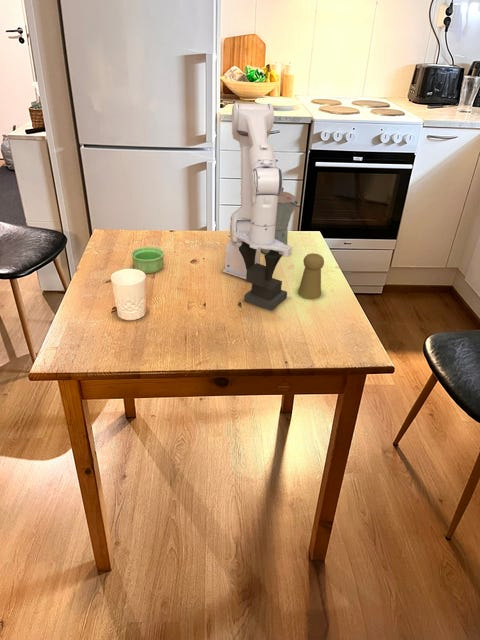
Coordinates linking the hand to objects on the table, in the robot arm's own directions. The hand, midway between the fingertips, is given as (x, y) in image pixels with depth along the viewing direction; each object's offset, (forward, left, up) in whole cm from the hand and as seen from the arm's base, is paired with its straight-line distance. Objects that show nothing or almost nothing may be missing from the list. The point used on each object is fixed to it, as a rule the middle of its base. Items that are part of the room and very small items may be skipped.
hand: (259, 275), depth 119 cm
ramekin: (-36, +1, -10) cm, 38 cm away
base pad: (0, +5, -9) cm, 11 cm away
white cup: (-23, -20, -10) cm, 32 cm away
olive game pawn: (+7, +15, -10) cm, 19 cm away
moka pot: (-14, +33, -10) cm, 37 cm away
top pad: (0, 0, -1) cm, 1 cm away
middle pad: (0, +5, -7) cm, 9 cm away
